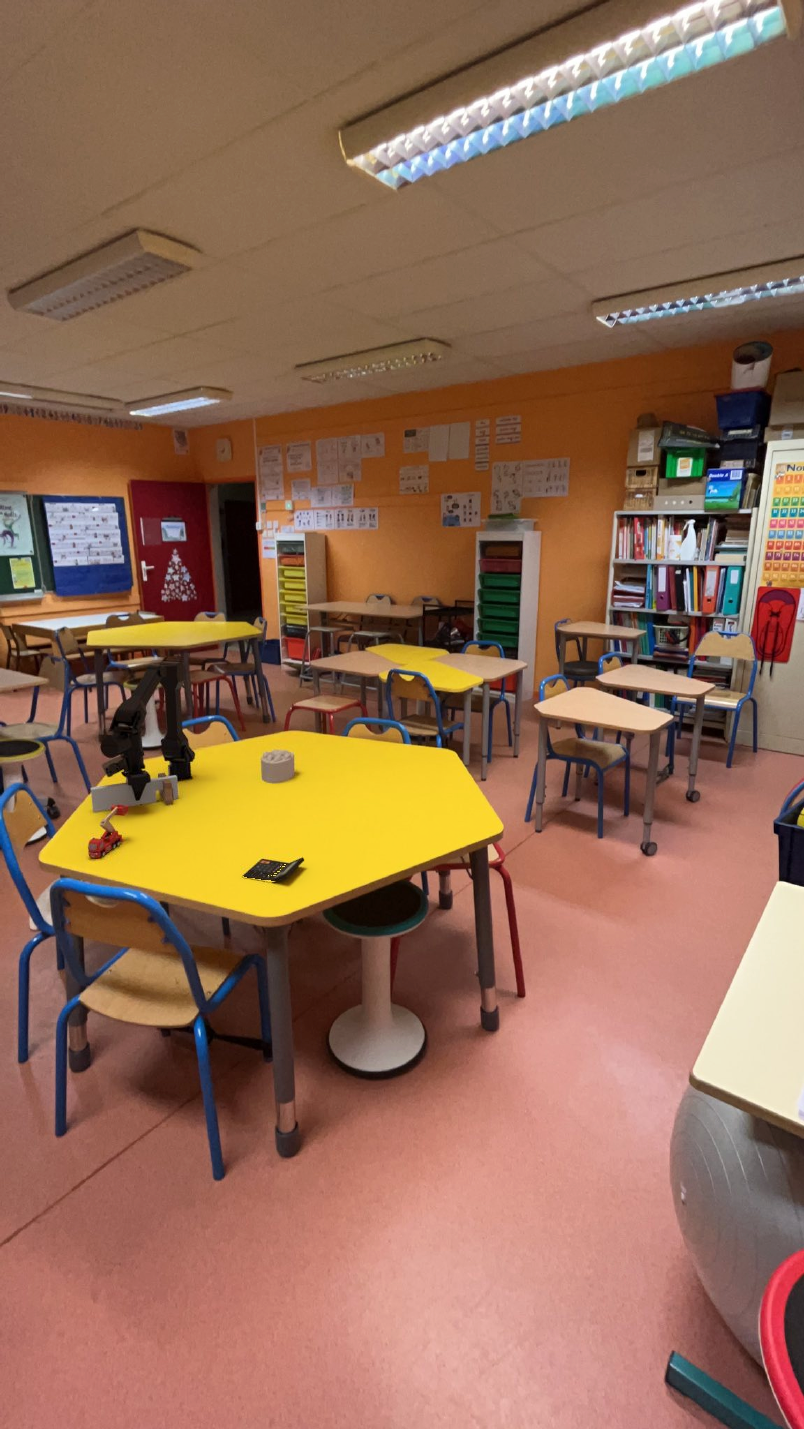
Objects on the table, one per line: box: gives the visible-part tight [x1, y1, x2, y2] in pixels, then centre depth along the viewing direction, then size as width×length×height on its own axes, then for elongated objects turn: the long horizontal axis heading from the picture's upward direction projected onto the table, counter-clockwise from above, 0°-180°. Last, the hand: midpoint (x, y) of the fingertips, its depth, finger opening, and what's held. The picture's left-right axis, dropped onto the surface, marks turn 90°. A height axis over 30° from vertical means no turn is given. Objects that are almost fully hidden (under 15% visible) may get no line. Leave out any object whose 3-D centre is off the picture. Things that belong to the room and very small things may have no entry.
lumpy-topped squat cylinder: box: [260, 749, 296, 784], centre depth 222 cm, size 10×13×9 cm
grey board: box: [90, 775, 179, 813], centre depth 196 cm, size 24×2×7 cm, turn 121°
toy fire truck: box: [87, 805, 130, 859], centre depth 166 cm, size 3×14×10 cm, turn 169°
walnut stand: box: [157, 772, 174, 806], centre depth 200 cm, size 10×2×7 cm, turn 31°
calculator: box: [242, 857, 305, 882], centre depth 156 cm, size 9×12×3 cm
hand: (136, 797), depth 196 cm, fingers open, 5 cm apart
